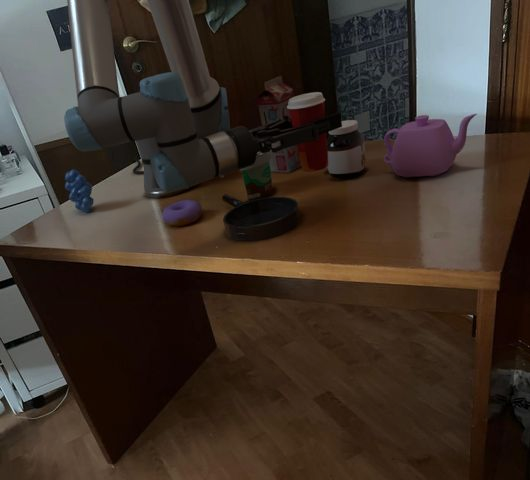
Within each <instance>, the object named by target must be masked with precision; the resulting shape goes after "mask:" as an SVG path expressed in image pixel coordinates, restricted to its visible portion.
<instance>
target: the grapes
mask: <svg viewBox="0 0 530 480" xmlns="http://www.w3.org/2000/svg"><path fill="white" fill-rule="evenodd" d="M64 180H65V185H64V189H65V190H67V191H68V192H69V195H68V200H69V201H71V202H72V203H75V204H74V208H76V209H77V210H78V211H82V212H84V213H89V212H90V211H91V208H92V206H93V205H94V198H93V197H92V196H91V195H92V191H93V185H92V184H91V183H90V182H88V181H87V177H85V176H84V175H83V174H81V173H80V171H78V170H77V169H75V168H72V169H70V171H67V172H66V173H65V175H64Z"/></svg>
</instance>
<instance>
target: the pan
mask: <svg viewBox="0 0 530 480" xmlns="http://www.w3.org/2000/svg"><path fill="white" fill-rule="evenodd" d="M300 221H301V213H300V207H299V202H298V201H297V200H296V199H294V198H292V197H286V196H270V197H269V196H267V197H266V198H262V199H257V200H253V201H250V202H247V203H244V204H241V205H239V206H237V207H233V208H231V209H230V210H228V211H227V212H226V213H225V214H224V216H223V219H222V222H223V225H224V228H225V232H226V236H227V237H229V238H230V239H232V240H235V241H239V242H240V241H241V242H253V241H261V240H266V239H270V238H274V237H277V236H280V235H282V234H285V233H287V232H289V231H290V230H292V229H294V228H295V227H296V226H297V225H298V224H299V223H300Z"/></svg>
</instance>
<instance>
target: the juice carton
mask: <svg viewBox="0 0 530 480" xmlns="http://www.w3.org/2000/svg"><path fill="white" fill-rule="evenodd" d="M263 84H264V90H263V91H262V92H261V93H260V94H259V95H258V96H257V97H256V101H257V105H258V111H259V116H260V122H261V126H263V125H265V124H268V123H271V122H273V121H276V120H278V119H282V120H284V119H283V116H285V115H288V118H289V121H290V118H291V116H290V112H289V109H288V108H287V106H288V102H289V99H291V98H293V97H295V92H294V89H293V88H292V87H290V85H288V84H285V83H284V82H283V77H282V75H279V76H276V77H275V78H271V79H270V80H267V81H264V82H263ZM269 152H270V154H271V157H272V158H271V160H270V161H269V162H270V171H271V172H274V173H275V172H276V173H291V172H293V171H295V170H297V169H298V168H301V167H302V166H301V161H300V157H299V153H298V148H297V145H295V146H292V147H288V148H285V149H282V150H280V151H277V152H275V153H274V152H272V150H270V151H269Z"/></svg>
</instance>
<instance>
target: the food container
mask: <svg viewBox="0 0 530 480" xmlns="http://www.w3.org/2000/svg"><path fill="white" fill-rule="evenodd" d="M271 158H272V157H271V154H270V152H266V153H261V152H258V153H257V155H256V161H255V163H254V164H253V165H251V166H248V167H245V168H242V169H240V172H241V175H242V179H243V184H244V187H245V191H246V195H247V199H248V201H253V200H257V199H262V198H268V197H269V196H271V195H272V194H273V193H274V189H273V181H272V173H271V172H272V171H271V168H270V162H269V161H270V160H271Z"/></svg>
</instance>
